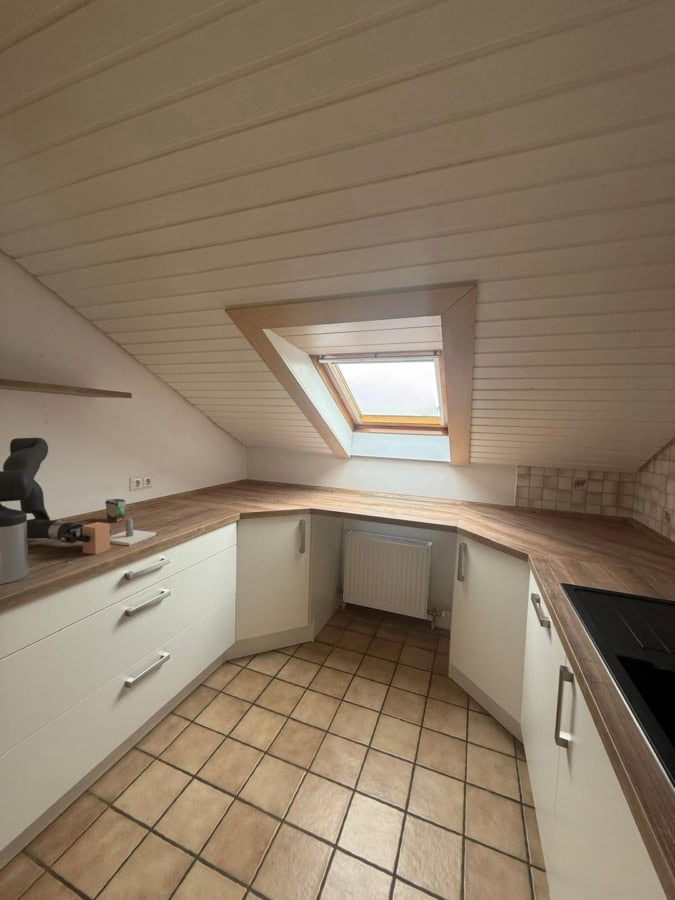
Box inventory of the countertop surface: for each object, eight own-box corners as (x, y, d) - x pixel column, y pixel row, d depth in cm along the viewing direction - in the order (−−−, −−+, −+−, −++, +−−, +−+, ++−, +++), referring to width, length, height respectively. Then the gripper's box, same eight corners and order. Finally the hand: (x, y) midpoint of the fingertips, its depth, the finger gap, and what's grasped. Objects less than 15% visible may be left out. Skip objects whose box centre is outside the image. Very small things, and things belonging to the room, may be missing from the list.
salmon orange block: (95, 554, 126) (95, 527, 125) (82, 552, 127) (82, 526, 127) (110, 548, 132) (109, 523, 131) (97, 547, 133) (97, 522, 132)
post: (129, 545, 136) (129, 524, 135) (101, 542, 139) (100, 521, 138) (156, 535, 149) (155, 516, 149) (129, 532, 152) (129, 513, 152)
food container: (131, 520, 171) (131, 500, 170) (118, 523, 165) (118, 503, 165) (118, 516, 177) (118, 497, 176) (105, 519, 172) (105, 499, 171)
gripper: (46, 527, 125) (81, 531, 122) (83, 517, 139) (116, 521, 135) (47, 547, 126) (81, 551, 122) (84, 535, 140) (116, 539, 136)
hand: (99, 535), depth 129 cm, fingers open, 8 cm apart
